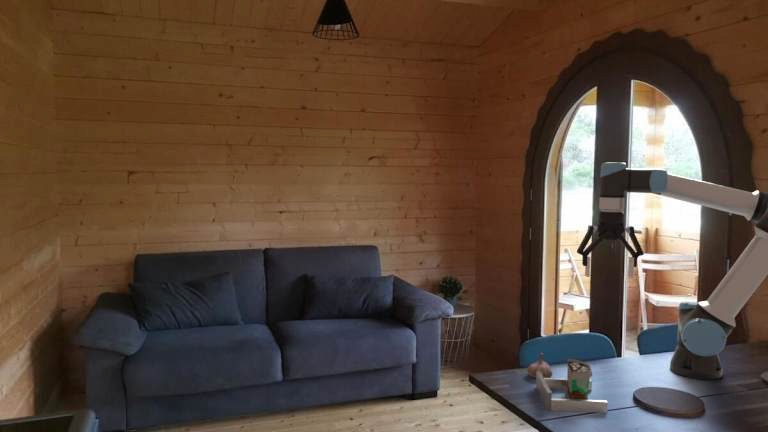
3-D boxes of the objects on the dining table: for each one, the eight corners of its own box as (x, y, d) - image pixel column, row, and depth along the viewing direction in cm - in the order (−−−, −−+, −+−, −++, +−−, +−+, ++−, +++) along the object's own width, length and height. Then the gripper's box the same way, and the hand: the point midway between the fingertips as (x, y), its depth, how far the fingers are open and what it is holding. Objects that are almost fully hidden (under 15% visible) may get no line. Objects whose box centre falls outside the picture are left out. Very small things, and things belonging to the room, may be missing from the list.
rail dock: (590, 389, 179) (591, 373, 179) (607, 412, 162) (607, 395, 162) (536, 387, 181) (536, 371, 180) (546, 410, 164) (547, 392, 163)
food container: (594, 409, 165) (595, 373, 164) (571, 407, 166) (572, 372, 165) (588, 392, 177) (589, 359, 176) (566, 391, 178) (567, 358, 177)
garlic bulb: (556, 378, 188) (557, 354, 188) (540, 382, 185) (540, 357, 184) (539, 371, 195) (540, 347, 194) (522, 375, 191) (523, 351, 191)
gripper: (647, 210, 192) (644, 275, 194) (568, 209, 194) (566, 273, 196) (656, 212, 185) (653, 279, 187) (574, 211, 187) (571, 277, 189)
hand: (608, 276), depth 191 cm, fingers open, 13 cm apart
